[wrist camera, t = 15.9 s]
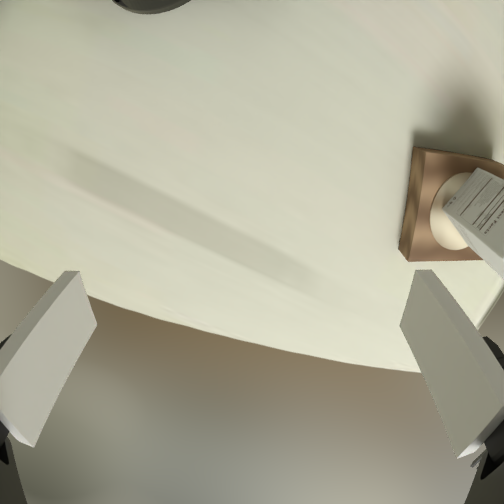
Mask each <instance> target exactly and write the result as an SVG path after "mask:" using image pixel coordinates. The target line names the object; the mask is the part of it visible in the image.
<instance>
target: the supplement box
mask: <svg viewBox="0 0 504 504" xmlns="http://www.w3.org/2000/svg"><path fill="white" fill-rule="evenodd" d="M442 210H443V212H444V213H445V214H446V216H447V217H448V218H449V220H450V221H451V222H452V224H453V225H454V227H455V228H456V229H457V231H458V232H459V234H460V235H461V237H462V238H463V240H464V241H465V242H466V244H467V245H468V246H469V247H470V248H471V249H472V250H473V251H474V252H475V253H477V254H478V255H479V256H480V257H481V258H482V259H483V260H484V261H485V262H486V263H487V264H488V265H489V266H490V267H491V268H493V269H494V270H495V271H496V272H497V273H498V274H499V275H500V276H501V277H502V278H503V279H504V180H503V179H501V178H499V177H497V176H495V175H493V174H491V173H489V172H487V171H484V170H482V169H480V168H477V169H476V170H475V171H474V172H473V173H472V175H471V176H470V177H469V178H468V179H467V181H466V182H465V183H464V184H463V185H462V186H461V188H460V189H459V190H458V191H457V192H456V193H455V195H454V196H453V197H452V198H451V199H450V200H449V201H448V203H447V204H446V205H445V206H444V207H443V208H442Z"/></svg>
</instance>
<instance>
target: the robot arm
mask: <svg viewBox="0 0 504 504" xmlns="http://www.w3.org/2000/svg"><path fill="white" fill-rule="evenodd" d="M112 1H113V2H114V3H115V4H117V5H118V6H120V7H122V8H124V9H126V10H128V11H130V12H134V13H138V14H157V13H162V12H166V11H170V10H172V9H175V8H177V7H180V6H182V5H184V4H185V3H187V2H189V1H190V0H112ZM96 326H97V322H96V320H95V317H94V314H93V312H92V309H91V306H90V303H89V300H88V297H87V294H86V291H85V288H84V285H83V281H82V278H81V275H80V272H79V271H64V272H63V274H62V275H61V276H60V277H59V278H58V279H57V280H56V281H55V282H54V284H53V285H52V286H51V287H50V288H49V289H48V291H47V292H46V293H45V294H44V295H43V296H42V297H41V299H40V300H39V301H38V302H37V303H36V305H35V306H34V307H33V308H32V309H31V311H30V312H29V313H28V314H27V316H26V317H25V318H24V319H23V321H22V322H21V323H20V325H19V326H18V327H17V328H16V330H15V331H14V332H13V333H12V334H11V335H10V336H9V337H7V338H6V339H5V340H4V341H2V342H1V343H0V504H27V501H26V498H25V495H24V492H23V489H22V485H21V482H20V478H19V475H18V471H17V467H16V463H15V459H14V455H13V450H12V445H11V442H10V440H9V439H8V437H7V435H8V433H9V432H10V433H11V434H12V435H13V436H14V437H15V438H16V439H17V440H18V441H20V442H22V443H24V444H27V445H29V446H31V447H34V446H35V444H36V441H37V439H38V437H39V435H40V433H41V430H42V428H43V426H44V424H45V422H46V420H47V418H48V416H49V414H50V411H51V409H52V407H53V405H54V403H55V401H56V399H57V397H58V395H59V393H60V391H61V389H62V388H63V385H64V384H65V381H66V380H67V378H68V376H69V374H70V372H71V370H72V369H73V367H74V364H75V363H76V361H77V359H78V358H79V356H80V354H81V352H82V350H83V349H84V347H85V345H86V343H87V341H88V340H89V338H90V336H91V335H92V333H93V331H94V329H95V327H96ZM400 328H401V330H402V332H403V334H404V336H405V338H406V340H407V342H408V344H409V346H410V348H411V350H412V353H413V355H414V357H415V359H416V361H417V363H418V365H419V368H420V370H421V372H422V374H423V377H424V379H425V381H426V383H427V385H428V388H429V390H430V393H431V395H432V397H433V400H434V402H435V404H436V407H437V409H438V412H439V414H440V417H441V419H442V422H443V424H444V427H445V430H446V432H447V434H448V437H449V440H450V443H451V446H452V448H453V451H454V454H455V457H456V458H460V457H462V456H465V455H468V454H470V453H473V452H475V451H476V450H477V449H478V448H479V447H480V446H481V445H482V444H483V443H485V446H486V448H487V449H486V450H485V451H484V452H483V453H482V454H481V455H480V456H479V457H478V458H476V459H475V460H474V461H473V463H472V465H471V467H474V466H475V465H476V464H477V463H478V462H479V461H480V463H479V466H478V467H477V472H476V475H475V478H474V481H473V483H472V486H471V488H470V491H469V494H468V496H467V499H466V501H465V503H464V504H504V354H503V353H502V351H501V350H500V348H499V347H498V345H497V344H495V343H494V342H493V341H492V340H491V339H489V338H488V337H487V336H486V337H482V336H481V335H480V334H479V332H478V330H477V329H476V328H475V326H474V325H473V323H472V322H471V321H470V319H469V318H468V316H467V315H466V314H465V312H464V311H463V309H462V308H461V307H460V305H459V304H458V303H457V301H456V300H455V299H454V297H453V296H452V295H451V294H450V292H449V291H448V290H447V288H446V287H445V286H444V285H443V283H442V282H441V281H440V279H439V278H438V277H437V276H436V274H435V273H434V272H433V271H432V270H415V274H414V278H413V281H412V285H411V289H410V292H409V296H408V299H407V303H406V306H405V310H404V313H403V316H402V319H401V323H400Z"/></svg>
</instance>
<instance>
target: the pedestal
mask: <svg viewBox="0 0 504 504" xmlns="http://www.w3.org/2000/svg"><path fill="white" fill-rule="evenodd" d="M477 168H480V169H482V170H484V171H487V172H489V173H491V174H493V175H495V176H497V177H499V178H501V179H503V180H504V165H503V164H501V163H499V162H496V161H494V160H491V159H486V158H481V157H476V156H471V155H465V154H460V153H454V152H448V151H441V150H434V149H427V148H420V147H413V152H412V162H411V172H410V180H409V188H408V195H407V202H406V209H405V215H404V221H403V227H402V233H401V238H400V243H399V250H400V252H401V253H402V254H403V256H404V257H405V258H406V260H407V261H408V262H415V261H461V260H483V259H482V258H481V257H480V256H479V255H478V254H477V253H475V252H474V251H473V250H472V249H471V248H470V247H469V246H468V245H467V244H466V242H465V241H464V240H463V238H462V237H461V235H460V234H459V232H458V231H457V229H456V228H455V227H454V225H453V224H452V222H451V221H450V220H449V218H448V217H447V216H446V214H445V213H444V212H443V210H442V208H443V207H444V206H445V205H446V204H447V203H448V201H449V200H450V199H451V198H452V197H453V196H454V195H455V193H456V192H457V191H458V190H459V189H460V188H461V186H462V185H463V184H464V183H465V182H466V181H467V179H468V178H469V177H470V176H471V175H472V173H473V172H474V171H475V170H476V169H477Z"/></svg>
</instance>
